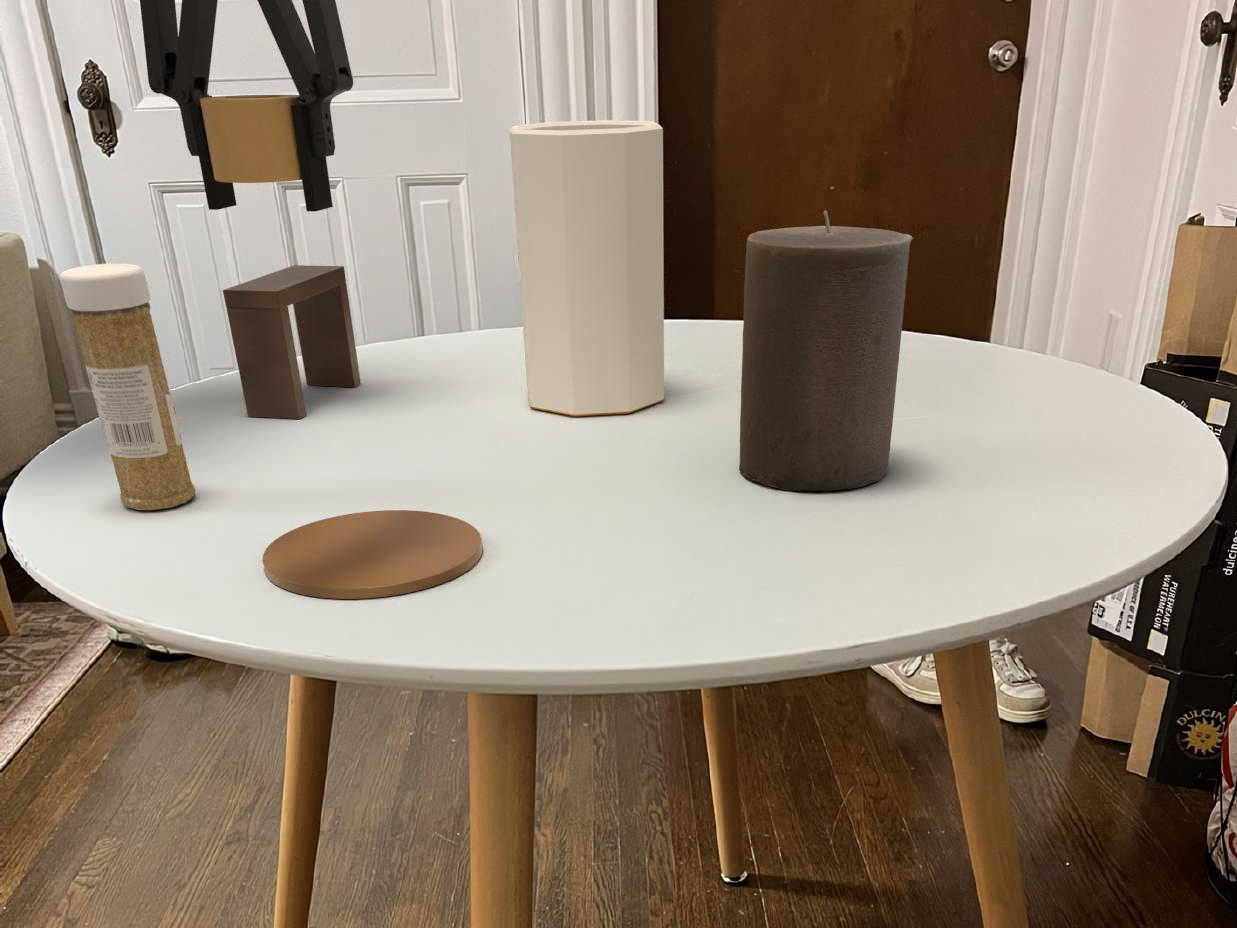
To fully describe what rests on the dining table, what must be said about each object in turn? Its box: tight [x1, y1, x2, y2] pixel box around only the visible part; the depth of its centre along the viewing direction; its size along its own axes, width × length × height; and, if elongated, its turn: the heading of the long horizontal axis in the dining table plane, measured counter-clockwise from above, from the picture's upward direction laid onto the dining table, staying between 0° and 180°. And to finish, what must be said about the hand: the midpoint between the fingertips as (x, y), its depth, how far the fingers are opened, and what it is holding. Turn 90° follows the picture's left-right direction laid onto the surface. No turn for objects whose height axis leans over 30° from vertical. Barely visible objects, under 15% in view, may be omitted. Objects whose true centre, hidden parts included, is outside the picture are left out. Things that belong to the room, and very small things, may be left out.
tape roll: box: [200, 94, 302, 184], centre depth 84 cm, size 7×7×5 cm
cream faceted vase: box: [509, 119, 665, 417], centre depth 88 cm, size 11×11×18 cm
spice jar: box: [59, 263, 196, 511], centre depth 71 cm, size 5×5×14 cm
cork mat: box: [262, 509, 483, 600], centre depth 65 cm, size 12×12×1 cm
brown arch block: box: [222, 264, 362, 420], centre depth 92 cm, size 4×11×9 cm, turn 166°
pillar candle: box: [738, 210, 914, 492], centre depth 73 cm, size 10×10×15 cm
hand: (270, 207), depth 87 cm, fingers closed on tape roll, 7 cm apart
